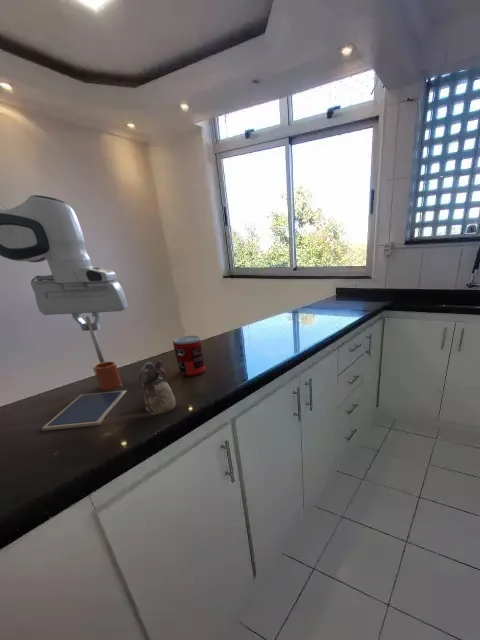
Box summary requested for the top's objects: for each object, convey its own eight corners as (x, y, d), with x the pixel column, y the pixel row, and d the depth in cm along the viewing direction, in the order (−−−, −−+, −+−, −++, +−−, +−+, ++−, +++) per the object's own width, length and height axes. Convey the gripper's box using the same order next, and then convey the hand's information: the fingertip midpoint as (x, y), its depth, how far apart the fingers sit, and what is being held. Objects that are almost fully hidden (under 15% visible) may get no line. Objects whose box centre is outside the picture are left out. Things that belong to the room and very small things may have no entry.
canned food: (180, 370, 101) (173, 337, 96) (205, 367, 103) (199, 334, 98) (179, 378, 95) (171, 343, 90) (206, 374, 97) (200, 340, 92)
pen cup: (97, 392, 87) (88, 369, 84) (105, 384, 92) (98, 362, 89) (118, 390, 88) (110, 367, 85) (125, 382, 93) (118, 360, 90)
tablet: (42, 430, 69) (41, 427, 69) (81, 396, 85) (80, 394, 85) (100, 425, 70) (98, 421, 70) (127, 392, 86) (126, 389, 86)
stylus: (99, 364, 86) (83, 316, 80) (101, 363, 87) (86, 315, 82) (104, 364, 86) (88, 316, 81) (106, 362, 87) (90, 315, 82)
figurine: (146, 404, 79) (134, 359, 74) (176, 399, 81) (165, 355, 76) (144, 417, 73) (130, 369, 68) (176, 411, 75) (165, 364, 70)
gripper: (19, 276, 73) (42, 335, 79) (112, 273, 75) (127, 330, 81) (36, 275, 78) (56, 329, 84) (121, 271, 81) (135, 325, 87)
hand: (92, 329), depth 83 cm, fingers closed on stylus, 1 cm apart
